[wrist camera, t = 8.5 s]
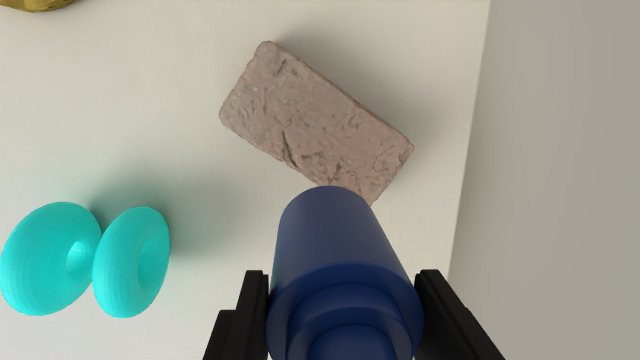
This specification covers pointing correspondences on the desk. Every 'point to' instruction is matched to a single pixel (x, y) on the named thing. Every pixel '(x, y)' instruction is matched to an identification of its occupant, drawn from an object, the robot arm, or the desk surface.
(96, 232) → the pair of turquoise discs
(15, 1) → the compass
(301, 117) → the brick
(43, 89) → the desk surface
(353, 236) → the bottle
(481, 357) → the robot arm
